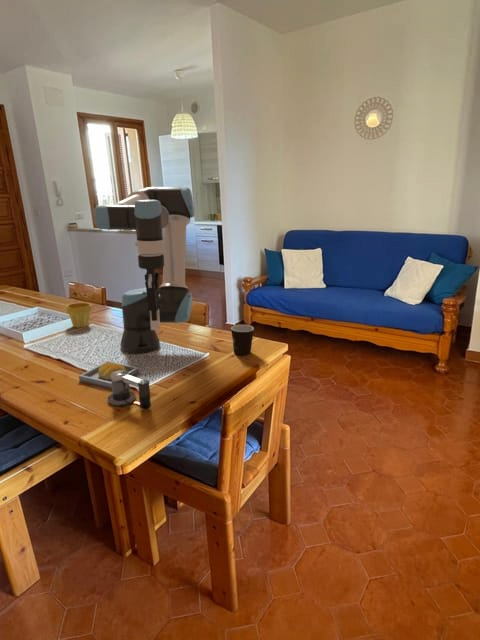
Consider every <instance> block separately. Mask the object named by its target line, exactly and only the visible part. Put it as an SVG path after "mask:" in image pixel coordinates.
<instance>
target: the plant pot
mask: <svg viewBox="0 0 480 640" xmlns="http://www.w3.org/2000/svg"><path fill="white" fill-rule="evenodd" d="M91 312H92V305H91V303H89V302H73V303H70V304H68V305H66V313H67V315H68V316H69V318H70V321H71V324H72V326H73V327H74V328H77V329H78V328H85V327H87V326H89V325H90V324H89V323H90V316H91V315H90V314H91Z"/></svg>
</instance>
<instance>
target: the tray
mask: <svg viewBox="0 0 480 640" xmlns="http://www.w3.org/2000/svg"><path fill="white" fill-rule="evenodd" d="M106 363H115V364H120V365H122V366H124V367H125V369H126V371H128V373H129V375H131V376H133V377H136V375H138V374H139V373H140V367H138V366H134V365H128V364H123V363H119V362H116V361H110V360H107V361H105V362H102V363H101V364H99V365H97V366H94V367H93V368H92V369H89V370H87V371H85V372H83V373H82V374H79V375H78V381H79V382H80V383H85V384H88V385H94V386H97V387H102V388H106V389H110V390H112V383H111V380H106V379H102V378H100V377H99V375H98V371H99V368H100V367H101V366H102V365H104V364H106Z"/></svg>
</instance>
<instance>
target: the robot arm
mask: <svg viewBox="0 0 480 640" xmlns="http://www.w3.org/2000/svg"><path fill="white" fill-rule="evenodd" d="M93 213H94V214H93V215H94V217H93V218H94V223H95V225H96V227H97V228H98V229H100V230H105V231H106V230H107V231H112V230H113V231H114V230H118V231H121V230H123V231H124V230H130V231H135V233H136V242H135V244H134V245H135V246H136V247H137V253H138V254H139V255H138V256H137V262H138V268H140V269H141V270H146V273H145V274H144V284H145V287H141V288H140V287H139V288H135V289H130V290H127V291H125V292H124V293H123V294H122V295H121V310H122V311H121V312H122V323H123V331H122V336H121V341H120V350H121V351H122V352H124V353H127V354H135V355H137V354H146V353H147V354H148V353H151V352H154V351H156V350H157V349H159V348H160V346H161V343H160V339H159V337H158V333H157V331H160V330H161V323H164V324H165V323H171V324H179V323H186V322H188V321H189V320H190V317H191V314H192V310H193V298H194V297H193V293H192V292H190V289H189V287H188V286H187V285H186V256H187V255H186V251H187V250H186V249H187V245H186V244H187V226H188V225H189V224H190V223H191V218H195V208H194V200H193V194H192V190H191V189H190V188H189V187H186V186H149V187H144V188H141V189H138V190H137V189H136V190H134V191H133V192H130V193H129V194H128V196H127V197H126V198H125V199H124V198H123V200H119V201H118V202H115V203H112V204H106V203H105V204H98V205H96V206H95V208H94V212H93ZM163 229H164V231H163ZM163 233H164V234H163ZM159 269H163V270H162V283H161V285H160V277H161V276H160V275H161V274H160V272H158V270H159Z"/></svg>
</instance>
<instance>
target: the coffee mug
mask: <svg viewBox="0 0 480 640" xmlns="http://www.w3.org/2000/svg"><path fill="white" fill-rule="evenodd" d="M230 330H231V339H232V346H233V354H234V355H235V356H241V357H245V356H250V355H251V352H252V345H253V338H254V330H255V328H254V326H252V325H247V324H238V325H237V324H236V325H234V326H232V327H231V328H230Z"/></svg>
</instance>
